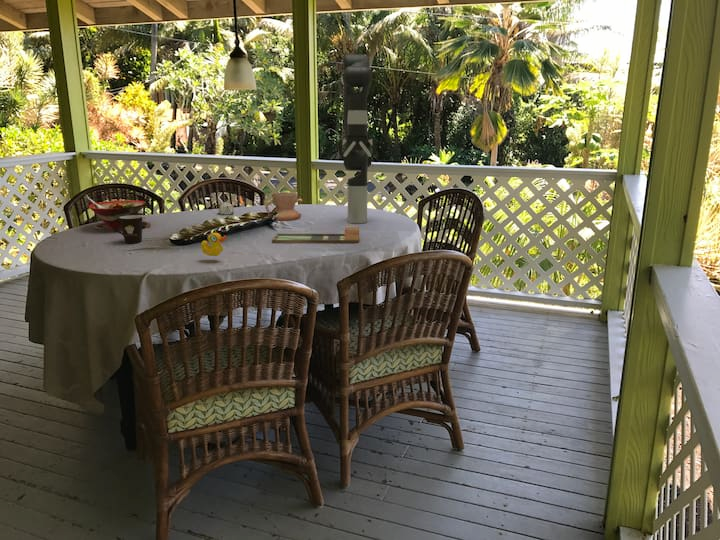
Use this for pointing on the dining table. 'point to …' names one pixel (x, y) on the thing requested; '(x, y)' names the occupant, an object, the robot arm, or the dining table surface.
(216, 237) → the duckling
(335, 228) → the dining table surface
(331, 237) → the trap pads
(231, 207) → the grey rounded lump
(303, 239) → the flat tray
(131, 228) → the coffee mug
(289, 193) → the ceramic jug
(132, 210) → the stew
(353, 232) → the terracotta block
